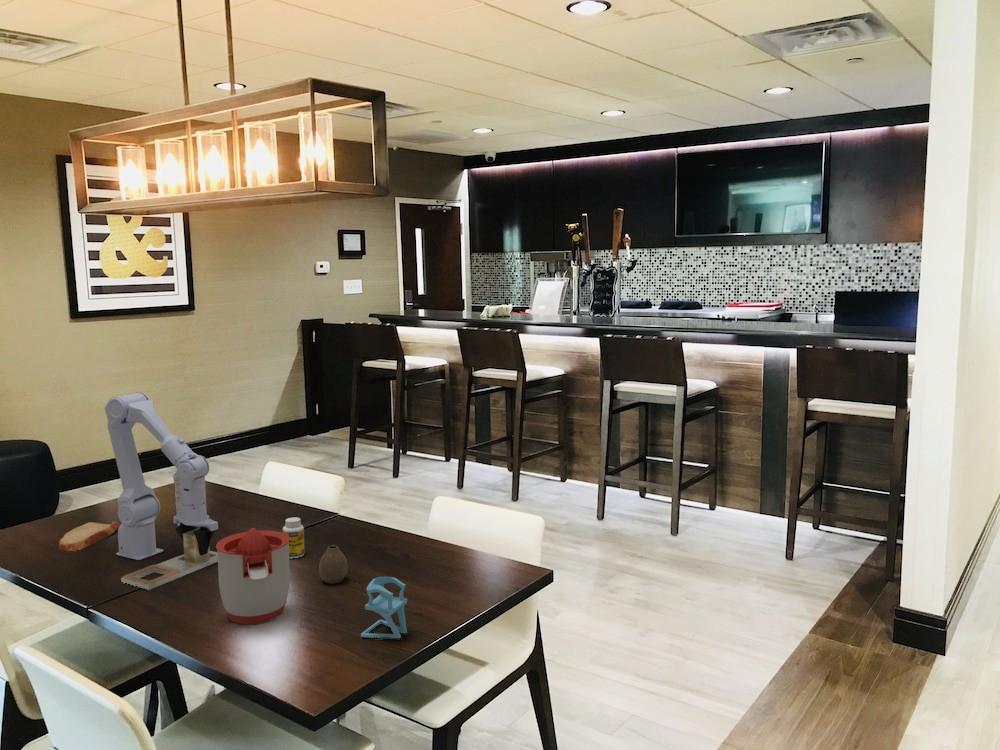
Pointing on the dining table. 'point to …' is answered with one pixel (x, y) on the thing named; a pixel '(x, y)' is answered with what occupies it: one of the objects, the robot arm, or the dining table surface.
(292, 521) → the supplement bottle
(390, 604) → the chair
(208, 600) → the dining table surface
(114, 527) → the bread slice
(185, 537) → the birch peg
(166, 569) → the rail
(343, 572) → the vase
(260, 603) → the citrus juicer
